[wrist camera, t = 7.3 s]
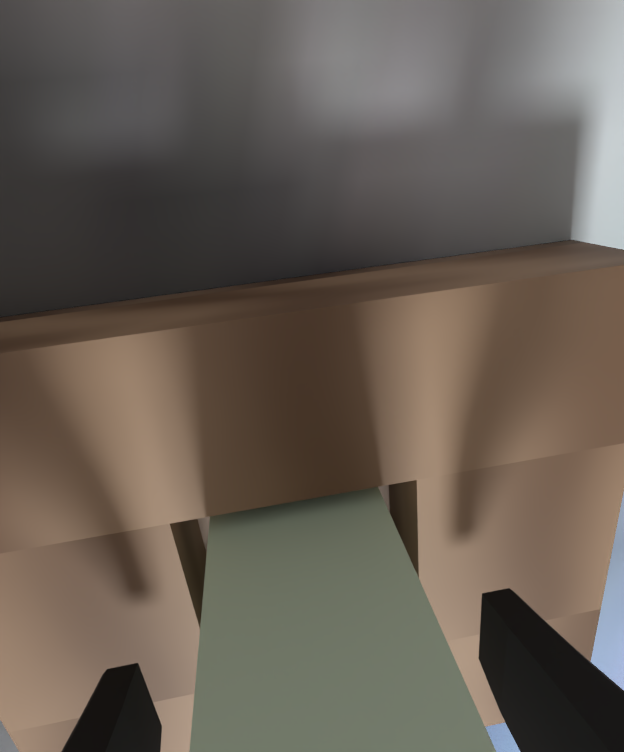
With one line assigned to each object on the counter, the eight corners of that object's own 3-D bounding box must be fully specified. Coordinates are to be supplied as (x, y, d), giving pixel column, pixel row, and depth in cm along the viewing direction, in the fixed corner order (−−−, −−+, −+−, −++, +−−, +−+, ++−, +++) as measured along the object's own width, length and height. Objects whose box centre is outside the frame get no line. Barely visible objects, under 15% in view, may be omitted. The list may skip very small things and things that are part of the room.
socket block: (91, 714, 16) (61, 822, 14) (-89, 329, 11) (-201, 381, 8) (529, 622, 18) (581, 704, 15) (571, 239, 12) (668, 258, 9)
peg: (239, 579, 14) (238, 1123, 6) (213, 469, 13) (166, 1008, 4) (368, 555, 15) (532, 1037, 6) (359, 444, 13) (562, 901, 5)
